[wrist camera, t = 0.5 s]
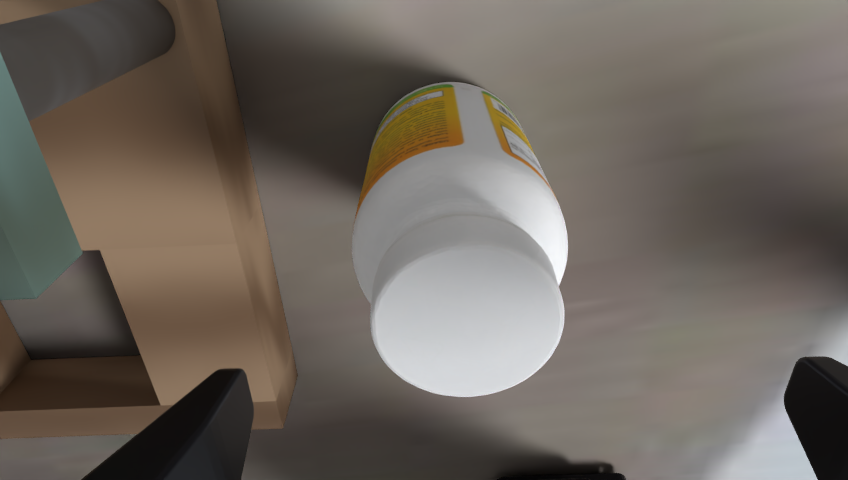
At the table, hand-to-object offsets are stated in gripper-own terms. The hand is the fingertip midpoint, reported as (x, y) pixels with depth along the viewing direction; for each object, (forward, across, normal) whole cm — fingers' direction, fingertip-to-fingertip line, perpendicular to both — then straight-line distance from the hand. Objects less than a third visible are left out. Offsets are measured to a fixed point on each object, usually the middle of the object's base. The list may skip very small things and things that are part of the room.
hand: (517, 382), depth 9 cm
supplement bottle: (+12, +1, 0) cm, 12 cm away
